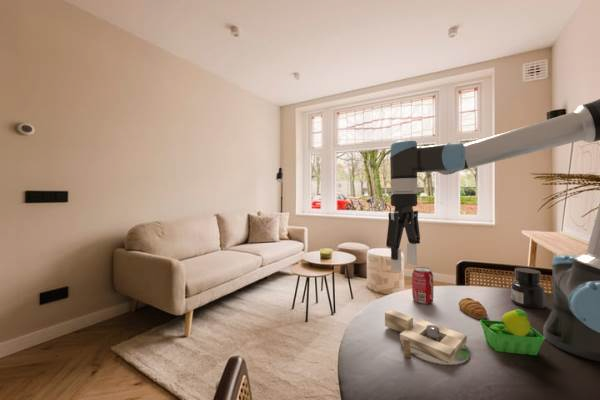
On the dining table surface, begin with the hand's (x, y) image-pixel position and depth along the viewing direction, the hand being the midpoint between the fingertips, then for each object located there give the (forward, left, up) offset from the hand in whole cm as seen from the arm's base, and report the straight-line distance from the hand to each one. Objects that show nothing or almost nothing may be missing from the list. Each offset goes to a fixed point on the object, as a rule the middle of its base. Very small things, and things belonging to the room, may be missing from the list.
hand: (404, 267), depth 79 cm
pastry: (-12, -24, -18) cm, 32 cm away
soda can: (+4, -20, -18) cm, 27 cm away
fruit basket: (-24, -7, -18) cm, 31 cm away
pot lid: (-10, +6, -17) cm, 21 cm away
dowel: (-8, +15, -17) cm, 24 cm away
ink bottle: (-22, -44, -18) cm, 53 cm away
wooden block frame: (-7, +6, -17) cm, 19 cm away
